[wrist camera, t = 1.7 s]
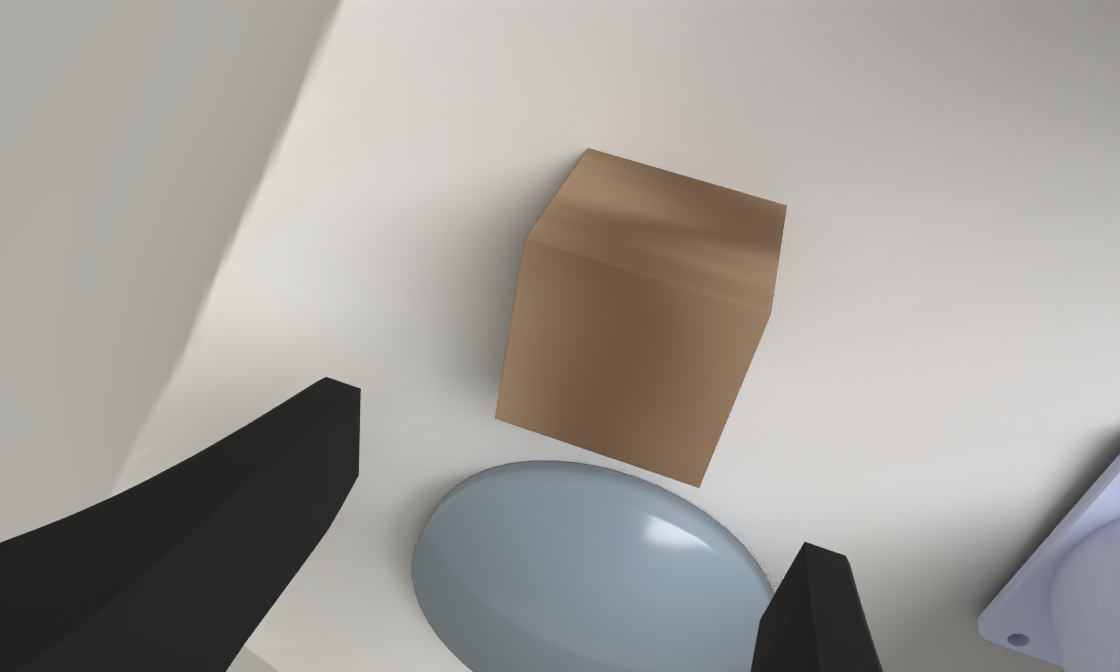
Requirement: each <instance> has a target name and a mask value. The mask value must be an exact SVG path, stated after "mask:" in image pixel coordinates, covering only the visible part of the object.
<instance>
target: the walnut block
mask: <svg viewBox="0 0 1120 672" xmlns="http://www.w3.org/2000/svg"><path fill="white" fill-rule="evenodd" d="M786 208H787V206H786V205H783V204H780V203H776V202H773V201H769V200H766V199H762V198H759V197H755V196H752V195H748V194H745V193H742V192H738V191H735V190H731V189H728V188H724V187H721V186H717V185H714V184H710V183H707V182H704V181H700V180H697V179H693V178H690V177H686V176H683V175H679V174H676V173H672V172H669V171H666V170H662V169H659V168H655V167H652V166H648V165H645V164H641V163H638V162H634V161H631V160H628V159H624V158H621V157H617V156H614V155H610V154H607V153H603V152H600V151H596V150H593V149H590V148H588V149H587V151H586V152H585V154H584V155H583V156H582V158H581V159H580V161H579V162H578V164H577V165H576V166H575V168H574V169H573V171H572V172H571V173H570V175H569V176H568V178H567V179H566V181H565V182H564V183H563V185H562V186H561V188H560V189H559V190H558V192H557V193H556V195H555V196H554V198H553V199H552V200H551V202H550V203H549V205H548V206H547V207H546V209H545V210H544V212H543V213H542V215H541V216H540V217H539V219H538V220H537V222H536V223H535V224H534V226H533V227H532V229H531V230H530V231H529V233H528V234H527V236H526V237H525V239H524V245H523V251H522V257H521V264H520V270H519V276H518V282H517V288H516V294H515V300H514V306H513V312H512V318H511V324H510V330H509V336H508V342H507V348H506V354H505V360H504V366H503V373H502V379H501V385H500V391H499V397H498V403H497V409H496V415H495V419H498V420H501V421H504V422H507V423H510V424H513V425H516V426H519V427H522V428H525V429H528V430H531V431H534V432H536V433H539V434H542V435H545V436H548V437H551V438H554V439H557V440H560V441H563V442H566V443H569V444H572V445H575V446H578V447H580V448H583V449H586V450H589V451H592V452H595V453H598V454H601V455H604V456H607V457H610V458H613V459H616V460H619V461H622V462H624V463H627V464H630V465H633V466H636V467H639V468H642V469H645V470H648V471H651V472H654V473H657V474H660V475H663V476H666V477H669V478H671V479H674V480H677V481H680V482H683V483H686V484H689V485H692V486H695V487H698V488H699V487H700V484H701V482H702V480H703V477H704V475H705V472H706V470H707V467H708V465H709V463H710V460H711V458H712V455H713V453H714V450H715V448H716V446H717V443H718V441H719V438H720V436H721V434H722V431H723V429H724V426H725V424H726V421H727V419H728V417H729V414H730V412H731V409H732V407H733V404H734V402H735V400H736V397H737V395H738V392H739V390H740V387H741V385H742V383H743V380H744V378H745V375H746V373H747V370H748V368H749V366H750V363H751V361H752V358H753V356H754V353H755V351H756V349H757V346H758V344H759V341H760V339H761V336H762V334H763V332H764V329H765V327H766V324H767V322H768V320H769V317H770V315H771V309H772V302H773V296H774V289H775V282H776V275H777V269H778V262H779V255H780V248H781V242H782V235H783V228H784V221H785V215H786Z"/></svg>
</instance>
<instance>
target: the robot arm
mask: <svg viewBox="0 0 1120 672" xmlns="http://www.w3.org/2000/svg"><path fill="white" fill-rule="evenodd" d="M360 393H361V389H360V388H357V387H354V386H351V385H348V384H345V383H342V382H339V381H337V380H334V379H331V378H328V377H325V378H323V379H321V380H319V381H317V382H316V383H314V384H313V385H311V386H309V387H308V388H306V389H304V390H303V391H301V392H300V393H298V394H296V395H295V396H293V397H292V398H290V399H288V400H287V401H285V402H283V403H282V404H280V405H279V406H277V407H275V408H274V409H272V410H271V411H269V412H267V413H266V414H264V415H262V416H261V417H259V418H257V419H256V420H254V421H253V422H251V423H249V424H248V425H246V426H244V427H242V428H241V429H239V430H237V431H236V432H234V433H232V434H230V435H229V436H227V437H225V438H224V439H222V440H220V441H218V442H217V443H215V444H213V445H212V446H210V447H208V448H206V449H205V450H203V451H201V452H199V453H197V454H196V455H194V456H192V457H190V458H188V459H186V460H184V461H182V462H181V463H179V464H177V465H175V466H173V467H171V468H169V469H167V470H165V471H163V472H162V473H160V474H158V475H156V476H154V477H152V478H150V479H148V480H146V481H144V482H142V483H140V484H138V485H136V486H134V487H132V488H130V489H128V490H126V491H124V492H122V493H120V494H118V495H115V496H113V497H111V498H109V499H107V500H105V501H102V502H100V503H98V504H96V505H93V506H91V507H89V508H87V509H84V510H82V511H80V512H77V513H75V514H73V515H70V516H68V517H66V518H63V519H61V520H58V521H56V522H53V523H51V524H48V525H46V526H43V527H41V528H38V529H36V530H33V531H30V532H27V533H25V534H22V535H20V536H17V537H14V538H11V539H9V540H6V541H3V542H1V543H0V672H226V670H227V669H228V667H229V666H230V665H231V663H232V661H233V660H234V659H235V657H236V655H237V654H238V653H239V651H240V650H241V648H242V647H243V645H244V644H245V642H246V641H247V640H248V638H249V637H250V636H251V634H252V633H253V632H254V630H255V629H256V627H257V626H258V625H259V623H260V622H261V621H262V619H263V618H264V617H265V615H266V614H267V613H268V611H269V610H270V608H271V607H272V606H273V604H274V603H275V602H276V600H277V599H278V598H279V596H280V595H281V594H282V592H283V591H284V590H285V588H286V587H287V585H288V584H289V583H290V581H291V580H292V579H293V577H294V576H295V575H296V573H297V572H298V571H299V569H300V568H301V566H302V565H303V564H304V562H305V561H306V560H307V558H308V557H309V555H310V554H311V553H312V551H313V550H314V549H315V547H316V546H317V544H318V543H319V542H320V540H321V539H322V537H323V536H324V535H325V533H326V532H327V530H328V529H329V527H330V526H331V524H332V522H333V520H334V519H335V517H336V515H337V514H338V512H339V510H340V508H341V507H342V505H343V503H344V501H345V499H346V498H347V496H348V494H349V492H350V490H351V488H352V487H353V485H354V483H355V481H356V479H357V477H358V476H359V438H360ZM977 624H978V630H979V634H980V636H981V637H982V638H983V639H985V640H987V641H989V642H991V643H994V644H997V645H1000V646H1002V647H1005V648H1008V649H1011V650H1014V651H1017V652H1019V653H1022V654H1025V655H1028V656H1031V657H1034V658H1036V659H1039V660H1042V661H1045V662H1048V663H1051V664H1053V665H1056V666H1059V667H1062V668H1063V669H1064V672H1120V454H1119V455H1118V456H1117V457H1116V459H1115V460H1114V461H1113V462H1112V463H1111V464H1110V466H1109V467H1108V468H1107V469H1106V470H1105V471H1104V472H1103V474H1102V475H1101V476H1100V477H1099V478H1098V479H1097V481H1096V482H1095V483H1094V484H1093V485H1092V486H1091V487H1090V489H1089V490H1088V491H1087V492H1086V493H1085V494H1084V496H1083V497H1082V498H1081V499H1080V500H1079V501H1078V502H1077V504H1076V505H1075V506H1074V507H1073V508H1072V509H1071V510H1070V512H1069V513H1068V514H1067V515H1066V516H1065V517H1064V519H1063V520H1062V521H1061V522H1060V523H1059V524H1058V525H1057V527H1056V528H1055V529H1054V530H1053V531H1052V532H1051V534H1050V535H1049V536H1048V537H1047V538H1046V539H1045V540H1044V542H1043V543H1042V544H1041V545H1040V546H1039V547H1038V549H1037V550H1036V551H1035V552H1034V553H1033V554H1032V555H1031V557H1030V558H1029V559H1028V560H1027V561H1026V562H1025V564H1024V565H1023V566H1022V567H1021V568H1020V569H1019V570H1018V572H1017V573H1016V574H1015V575H1014V576H1013V577H1012V579H1011V580H1010V581H1009V582H1008V583H1007V584H1006V585H1005V587H1004V588H1003V589H1002V590H1001V591H1000V592H999V594H998V595H997V596H996V597H995V598H994V599H993V600H992V602H991V603H990V604H989V605H988V606H987V607H986V609H985V610H984V611H983V612H982V613H981V614H980V615H979V617H978V619H977ZM751 672H883V670H882V667H881V664H880V661H879V658H878V655H877V653H876V650H875V647H874V643H873V640H872V637H871V634H870V631H869V628H868V625H867V622H866V618H865V615H864V612H863V609H862V605H861V602H860V598H859V595H858V592H857V588H856V585H855V581H854V577H853V574H852V570H851V566H850V563H849V561H848V559H847V558H846V556H844V555H842V554H839V553H836V552H833V551H830V550H827V549H824V548H821V547H818V546H815V545H813V544H810V543H807V542H804V544H803V546H802V547H801V549H800V551H799V553H798V554H797V556H796V558H795V560H794V561H793V563H792V565H791V566H790V568H789V570H788V572H787V573H786V575H785V577H784V579H783V580H782V582H781V584H780V586H779V587H778V589H777V591H776V593H775V594H774V596H773V598H772V600H771V601H770V603H769V605H768V607H767V608H766V610H765V612H764V614H763V615H762V617H761V619H760V622H759V628H758V633H757V638H756V644H755V649H754V654H753V660H752V666H751Z"/></svg>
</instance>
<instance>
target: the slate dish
mask: <svg viewBox="0 0 1120 672" xmlns="http://www.w3.org/2000/svg"><path fill="white" fill-rule="evenodd" d="M412 579H413V584H414V589H415V594H416V596H417V599H418V602H419V605H420V607H421V609H422V611H423V613H424V615H425V617H426V619H427V621H428V622H429V624H430V625H431V627H432V628H433V630H434V631H435V633H436V634H437V635H438V637H439V638H440V639H441V640H442V642H443V643H444V644H445V645H446V646H447V647H448V649H449V650H450V651H451V652H452V653H453V654H454V655H455V656H456V657H457V658H458V659H459V660H460V661H461V662H462V663H463V664H465V665H466V666H467V667H468V668H469V669H471V670H472V671H473V672H751V666H752V660H753V654H754V649H755V644H756V638H757V633H758V628H759V622H760V619H761V617H762V615H763V614H764V612H765V610H766V608H767V607H768V605H769V603H770V601H771V600H772V598H773V596H774V593H773V590H772V588H771V585H770V583H769V581H768V579H767V577H766V576H765V574H764V572H763V571H762V569H761V567H760V565H759V564H758V563H757V561H756V560H755V559H754V558H753V556H752V555H751V554H750V553H749V551H748V550H747V549H746V548H745V546H744V545H743V544H742V543H741V542H740V541H739V540H738V539H737V538H736V537H735V536H734V535H733V534H731V533H730V532H729V531H728V530H727V529H726V528H725V527H724V526H722V525H721V524H720V523H719V522H717V521H716V520H715V519H714V518H712V517H711V516H710V515H708V514H707V513H706V512H704V511H702V510H701V509H699V508H698V507H696V506H695V505H693V504H691V503H690V502H688V501H687V500H685V499H683V498H681V497H679V496H677V495H676V494H674V493H672V492H670V491H668V490H666V489H664V488H662V487H660V486H657V485H655V484H652V483H650V482H647V481H645V480H642V479H640V478H637V477H635V476H631V475H628V474H625V473H621V472H618V471H614V470H611V469H608V468H603V467H597V466H592V465H587V464H582V463H572V462H562V461H529V462H521V463H513V464H507V465H503V466H499V467H495V468H491V469H488V470H486V471H483V472H481V473H479V474H476V475H474V476H471V477H470V478H468V479H467V480H465V481H463V482H462V483H460V484H459V485H457V486H456V487H455V488H454V489H453V490H451V491H450V492H449V493H448V494H447V495H446V496H445V497H444V498H443V500H442V501H441V503H440V504H439V505H438V507H437V508H436V510H435V511H434V513H433V515H432V517H431V519H430V520H429V522H428V524H427V526H426V527H425V529H424V531H423V533H422V534H421V536H420V539H419V541H418V543H417V545H416V548H415V551H414V556H413V561H412Z"/></svg>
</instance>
